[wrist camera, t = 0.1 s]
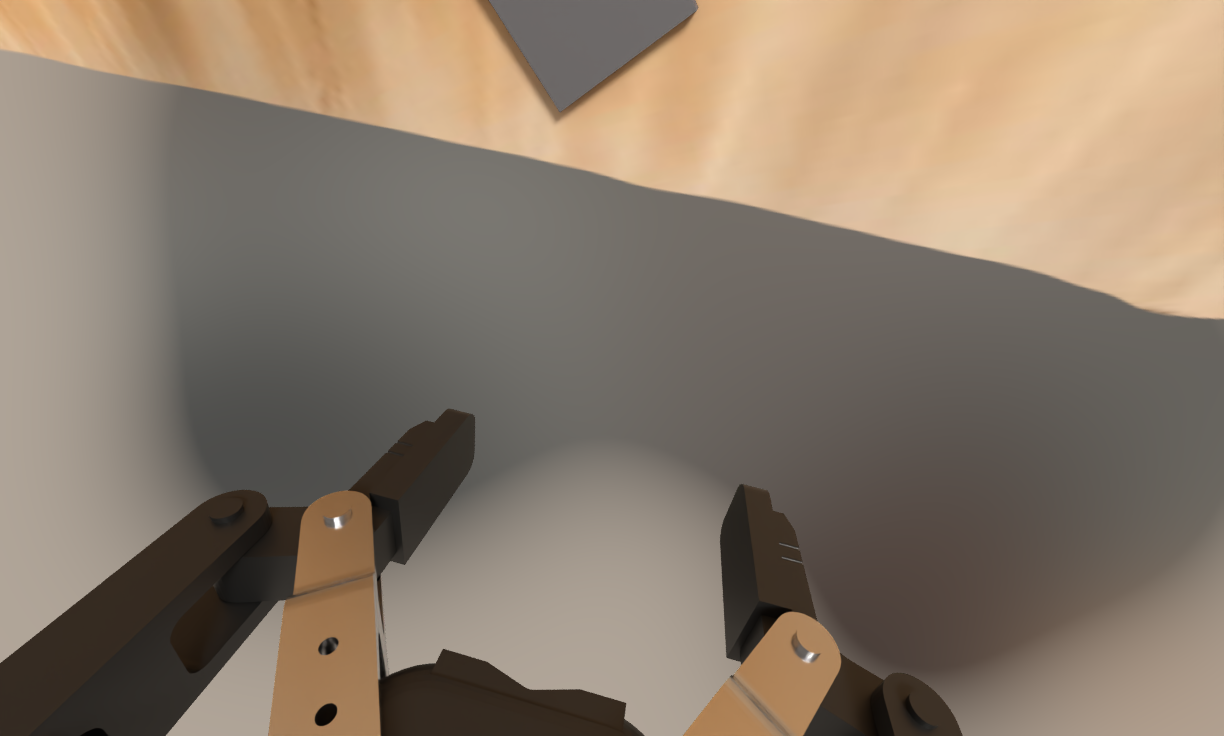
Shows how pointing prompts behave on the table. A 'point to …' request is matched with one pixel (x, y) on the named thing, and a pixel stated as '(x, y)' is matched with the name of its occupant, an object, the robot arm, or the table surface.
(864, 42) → the table surface
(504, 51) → the table surface
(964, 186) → the table surface
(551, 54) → the dock mat
